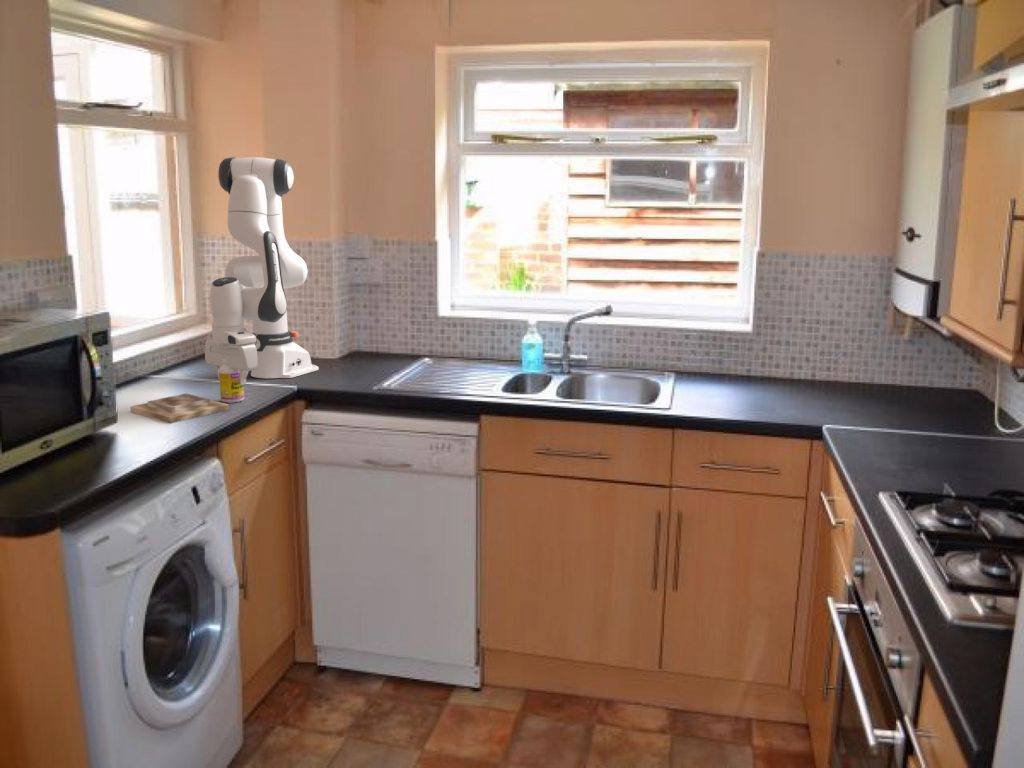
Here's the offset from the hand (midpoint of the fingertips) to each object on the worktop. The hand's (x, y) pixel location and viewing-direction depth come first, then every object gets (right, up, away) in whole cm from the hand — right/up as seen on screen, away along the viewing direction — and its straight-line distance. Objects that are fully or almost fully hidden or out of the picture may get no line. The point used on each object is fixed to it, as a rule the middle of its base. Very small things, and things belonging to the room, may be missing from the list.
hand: (232, 382), depth 267 cm
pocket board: (-12, -8, -10) cm, 17 cm away
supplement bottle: (0, -6, +2) cm, 6 cm away
